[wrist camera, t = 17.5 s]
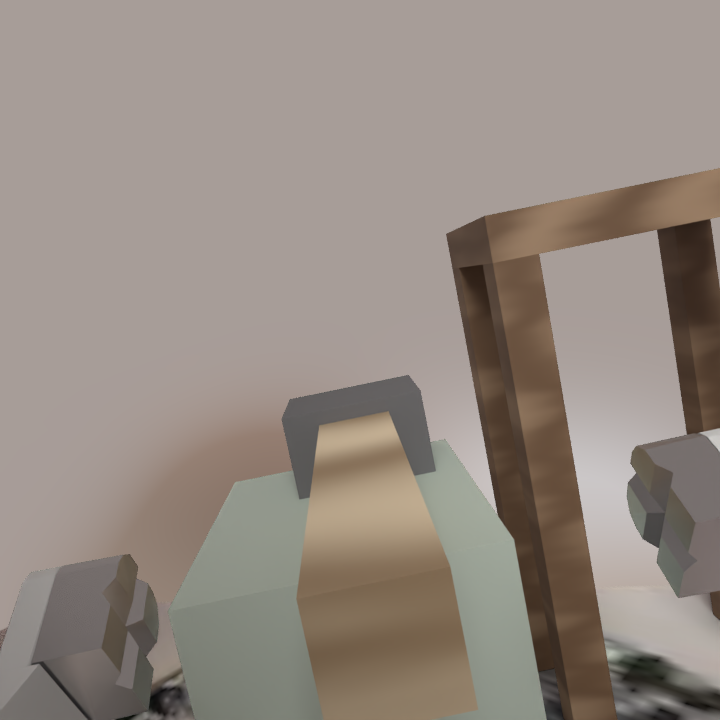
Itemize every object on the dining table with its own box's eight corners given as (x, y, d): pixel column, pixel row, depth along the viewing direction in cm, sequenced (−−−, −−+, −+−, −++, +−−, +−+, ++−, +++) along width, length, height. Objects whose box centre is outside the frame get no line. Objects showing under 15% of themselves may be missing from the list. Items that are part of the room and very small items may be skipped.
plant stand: (582, 772, 31) (484, 216, 28) (523, 653, 41) (446, 234, 38) (874, 711, 31) (809, 150, 28) (744, 607, 41) (685, 185, 38)
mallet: (553, 694, 11) (522, 521, 10) (253, 757, 11) (211, 585, 10) (422, 444, 28) (408, 374, 27) (304, 468, 28) (289, 399, 27)
